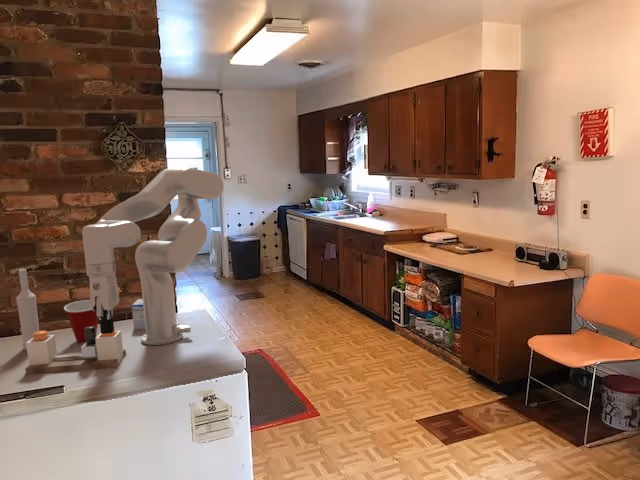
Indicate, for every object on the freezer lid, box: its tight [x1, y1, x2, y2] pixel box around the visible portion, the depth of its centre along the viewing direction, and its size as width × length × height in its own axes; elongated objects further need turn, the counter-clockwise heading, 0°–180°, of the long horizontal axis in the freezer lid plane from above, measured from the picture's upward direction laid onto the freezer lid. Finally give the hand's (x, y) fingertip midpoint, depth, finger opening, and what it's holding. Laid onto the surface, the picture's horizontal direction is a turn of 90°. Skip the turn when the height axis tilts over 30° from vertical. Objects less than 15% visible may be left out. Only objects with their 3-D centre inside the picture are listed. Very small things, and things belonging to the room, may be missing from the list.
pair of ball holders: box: [26, 330, 125, 366], centre depth 149 cm, size 24×5×8 cm, turn 94°
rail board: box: [24, 348, 127, 374], centre depth 150 cm, size 24×10×2 cm, turn 94°
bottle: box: [16, 268, 40, 351], centre depth 163 cm, size 5×5×25 cm
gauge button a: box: [100, 330, 116, 337], centre depth 149 cm, size 4×4×2 cm
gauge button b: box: [33, 330, 48, 342], centre depth 148 cm, size 4×4×2 cm
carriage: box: [80, 326, 97, 357], centre depth 149 cm, size 4×6×8 cm, turn 4°
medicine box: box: [131, 298, 146, 330], centre depth 182 cm, size 8×4×9 cm, turn 5°
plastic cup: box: [63, 299, 99, 344], centre depth 169 cm, size 11×11×12 cm
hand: (107, 332), depth 149 cm, fingers closed
